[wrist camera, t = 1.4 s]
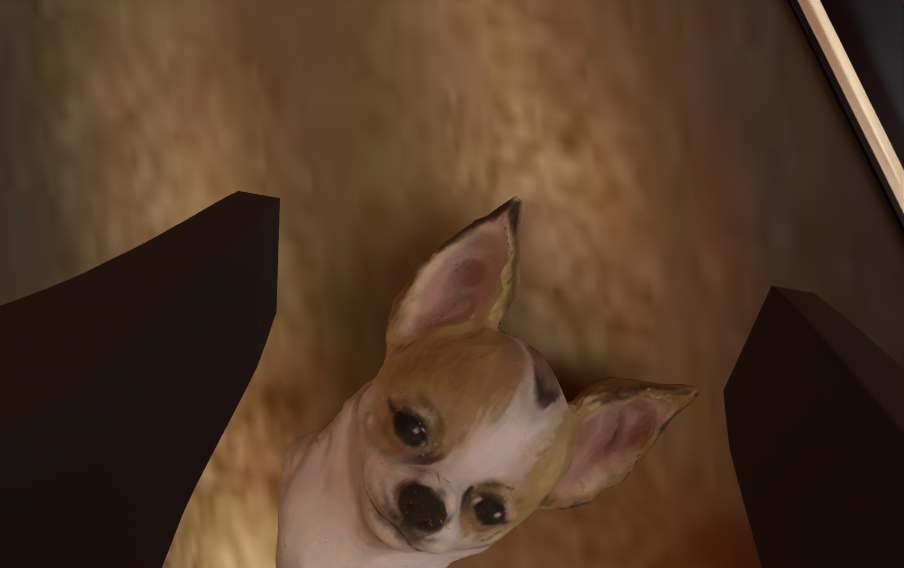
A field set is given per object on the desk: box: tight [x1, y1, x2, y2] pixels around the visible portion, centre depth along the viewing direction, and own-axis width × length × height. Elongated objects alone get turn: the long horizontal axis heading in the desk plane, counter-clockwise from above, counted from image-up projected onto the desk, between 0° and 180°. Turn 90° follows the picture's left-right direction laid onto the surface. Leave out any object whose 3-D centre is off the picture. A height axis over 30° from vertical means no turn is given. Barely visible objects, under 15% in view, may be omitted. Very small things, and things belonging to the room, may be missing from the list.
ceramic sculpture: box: [276, 197, 699, 568], centre depth 28 cm, size 11×9×15 cm
